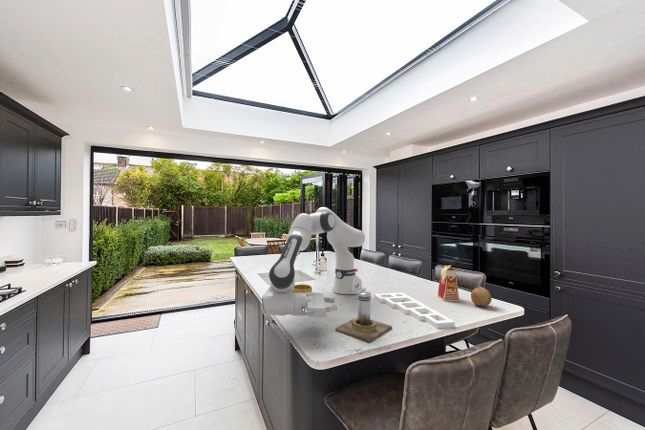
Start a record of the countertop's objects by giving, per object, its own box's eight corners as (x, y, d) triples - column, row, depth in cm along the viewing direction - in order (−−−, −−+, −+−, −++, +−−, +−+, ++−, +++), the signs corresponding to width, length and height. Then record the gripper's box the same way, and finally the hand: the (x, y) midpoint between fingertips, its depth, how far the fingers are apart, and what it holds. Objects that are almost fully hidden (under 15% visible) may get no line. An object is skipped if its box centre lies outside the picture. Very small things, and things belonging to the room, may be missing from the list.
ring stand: (359, 318, 127) (360, 311, 127) (391, 328, 116) (392, 321, 116) (335, 330, 113) (335, 323, 113) (369, 342, 103) (369, 334, 103)
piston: (360, 323, 118) (360, 290, 118) (371, 325, 116) (372, 292, 116) (355, 327, 114) (356, 293, 114) (368, 330, 111) (368, 295, 111)
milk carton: (459, 301, 155) (460, 265, 155) (443, 301, 155) (443, 265, 155) (452, 296, 164) (453, 263, 164) (436, 296, 164) (437, 262, 164)
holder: (455, 328, 119) (455, 321, 119) (417, 331, 115) (417, 325, 115) (402, 297, 163) (402, 292, 163) (373, 298, 159) (374, 294, 159)
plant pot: (302, 310, 136) (302, 290, 136) (287, 305, 142) (287, 286, 142) (315, 305, 144) (316, 286, 144) (300, 301, 151) (301, 283, 151)
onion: (486, 310, 141) (487, 290, 141) (466, 305, 149) (467, 286, 149) (495, 307, 146) (495, 288, 146) (475, 302, 154) (475, 284, 154)
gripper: (301, 304, 103) (338, 304, 104) (302, 289, 123) (333, 289, 124) (301, 321, 103) (338, 321, 104) (302, 303, 123) (333, 303, 124)
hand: (335, 304), depth 114 cm, fingers open, 8 cm apart
